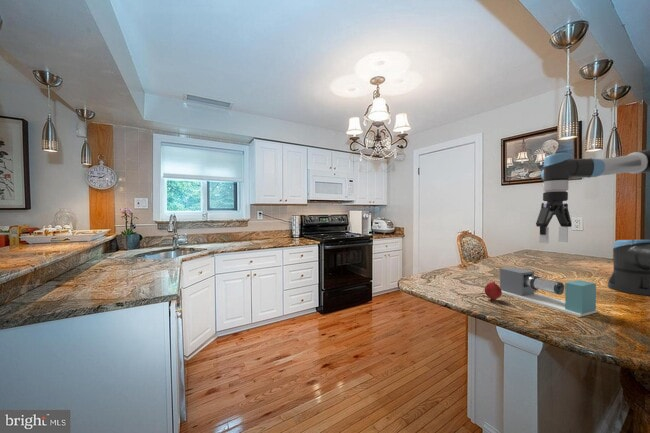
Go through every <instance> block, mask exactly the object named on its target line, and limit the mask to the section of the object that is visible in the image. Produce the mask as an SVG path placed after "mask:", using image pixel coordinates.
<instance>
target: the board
mask: <svg viewBox="0 0 650 433" xmlns="http://www.w3.org/2000/svg"><path fill="white" fill-rule="evenodd" d="M501 291H502V290H501ZM502 294H503V295H506V296H510V297H513V298H516V299H519V300H522V301H526V302H529V303H532V304H536V305H539V306H543V307H545V308H549V309H553V310H556V311H559V312H562V313H564V314H565V313H566V314H569V315H572V316H575V317H580V318H581V317H584V316H588V315H592V314H595V313H596V314H597V313H598V312H599V310H598V309H596V310H595V311H592V312H588V313H584V314H580V313H576V312H573V311H570V310H566V309H565V300H561V299H557V298H554V297H550V296H547V295H544V294H539V293H535V292H534V294H531V295H526V296H519V295H516V294H512V293H509V292H505V291H502Z"/></svg>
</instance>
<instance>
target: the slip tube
mask: <svg viewBox="0 0 650 433" xmlns="http://www.w3.org/2000/svg"><path fill="white" fill-rule="evenodd" d="M524 286H527V287H531V288H532V289H534V291H538V290H540V291H544V292H548V293H551V294H555V295H559V296H561V295H562V294H564V293H565V285H564V283H563V282H562V281H561V282H559V281H555V280H550V279H547V278H546V279H545V278H541V277H540V276H538V275H537V276H536V275H534V276H533V277H532V276H528V275H524Z"/></svg>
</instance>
